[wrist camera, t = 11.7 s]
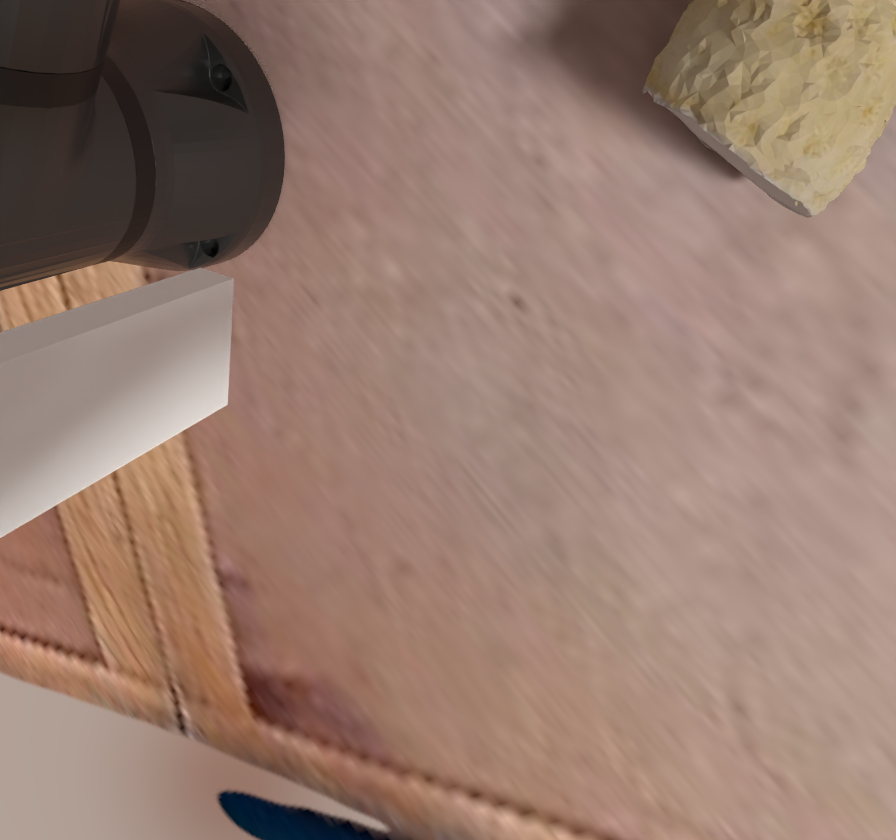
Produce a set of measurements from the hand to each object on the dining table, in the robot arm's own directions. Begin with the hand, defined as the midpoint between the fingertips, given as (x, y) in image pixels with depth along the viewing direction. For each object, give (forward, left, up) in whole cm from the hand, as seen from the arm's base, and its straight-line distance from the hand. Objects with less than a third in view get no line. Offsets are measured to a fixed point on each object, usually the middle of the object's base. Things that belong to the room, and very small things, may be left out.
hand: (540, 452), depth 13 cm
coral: (+1, +7, -28) cm, 29 cm away
